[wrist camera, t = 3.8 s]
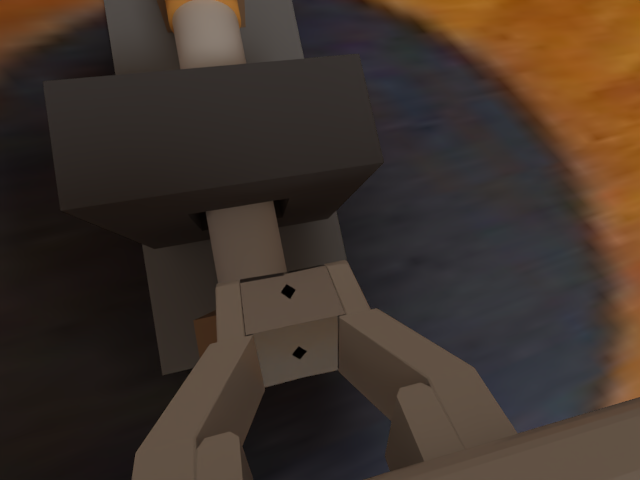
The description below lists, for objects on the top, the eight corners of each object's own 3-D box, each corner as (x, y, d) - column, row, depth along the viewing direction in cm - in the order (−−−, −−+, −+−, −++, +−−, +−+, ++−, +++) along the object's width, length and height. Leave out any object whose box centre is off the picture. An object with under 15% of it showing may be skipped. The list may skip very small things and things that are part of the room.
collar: (328, 218, 22) (383, 162, 12) (154, 249, 20) (60, 210, 11) (314, 156, 23) (359, 53, 13) (143, 179, 21) (43, 81, 11)
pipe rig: (355, 325, 25) (415, 347, 15) (168, 369, 22) (104, 427, 13) (286, 1, 27) (302, -154, 18) (111, 10, 25) (22, -162, 15)
